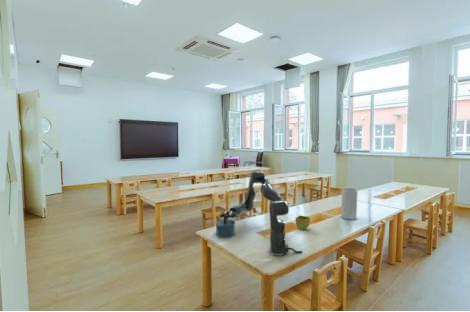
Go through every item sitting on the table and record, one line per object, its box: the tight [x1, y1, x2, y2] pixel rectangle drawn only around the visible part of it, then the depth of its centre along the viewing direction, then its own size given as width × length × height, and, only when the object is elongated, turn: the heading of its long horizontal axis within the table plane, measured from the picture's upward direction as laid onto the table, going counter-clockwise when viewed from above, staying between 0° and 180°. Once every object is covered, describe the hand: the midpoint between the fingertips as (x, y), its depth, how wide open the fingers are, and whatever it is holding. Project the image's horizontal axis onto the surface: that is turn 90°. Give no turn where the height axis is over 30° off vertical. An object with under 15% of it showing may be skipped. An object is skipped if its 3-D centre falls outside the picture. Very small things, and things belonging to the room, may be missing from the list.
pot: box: [215, 223, 236, 239], centre depth 187 cm, size 13×13×8 cm
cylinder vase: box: [340, 187, 358, 221], centre depth 221 cm, size 12×12×25 cm
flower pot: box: [295, 215, 311, 231], centre depth 197 cm, size 9×9×9 cm
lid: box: [215, 213, 236, 227], centre depth 187 cm, size 14×14×8 cm
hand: (223, 216), depth 184 cm, fingers open, 4 cm apart
